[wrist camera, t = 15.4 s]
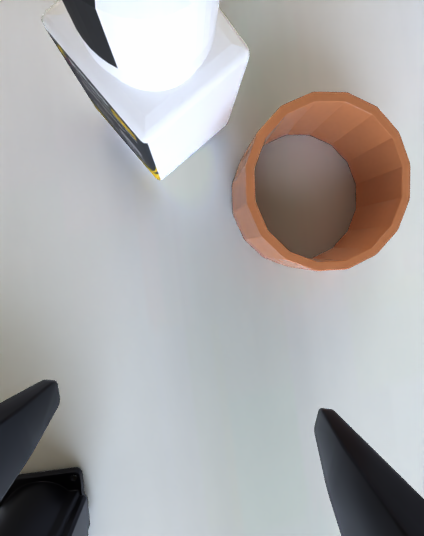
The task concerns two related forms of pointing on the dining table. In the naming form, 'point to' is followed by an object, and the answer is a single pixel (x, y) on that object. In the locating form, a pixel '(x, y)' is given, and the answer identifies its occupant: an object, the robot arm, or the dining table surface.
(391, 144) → the terracotta pot
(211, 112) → the medicine bottle
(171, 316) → the dining table surface
